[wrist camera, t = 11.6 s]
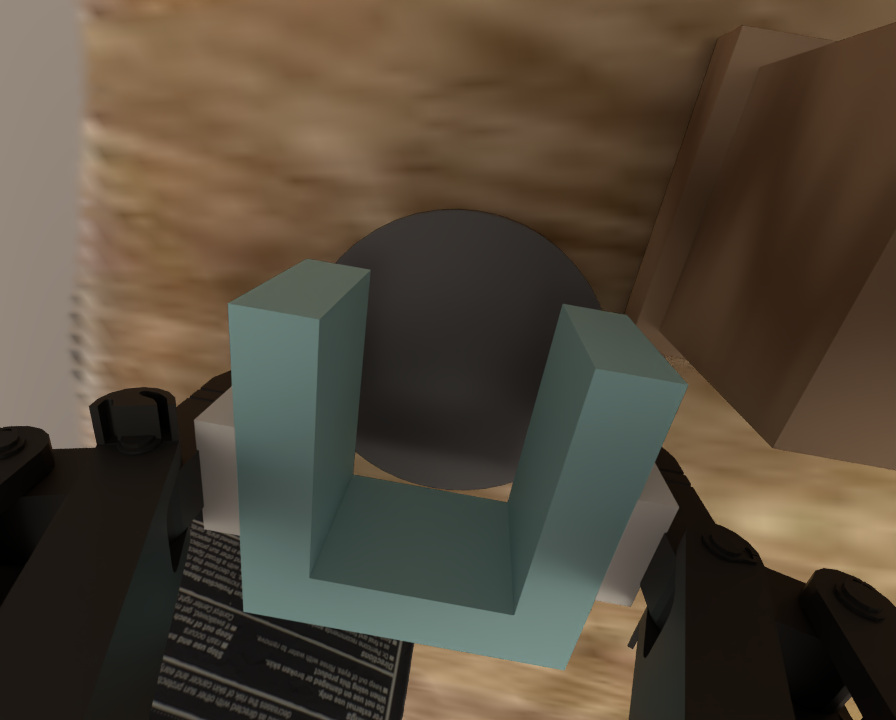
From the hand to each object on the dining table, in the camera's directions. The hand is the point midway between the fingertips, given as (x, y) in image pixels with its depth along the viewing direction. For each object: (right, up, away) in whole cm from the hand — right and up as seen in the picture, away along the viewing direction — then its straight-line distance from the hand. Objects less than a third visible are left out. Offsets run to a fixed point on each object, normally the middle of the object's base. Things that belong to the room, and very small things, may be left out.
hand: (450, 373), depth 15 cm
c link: (0, -1, -3) cm, 3 cm away
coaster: (0, 0, +1) cm, 1 cm away
